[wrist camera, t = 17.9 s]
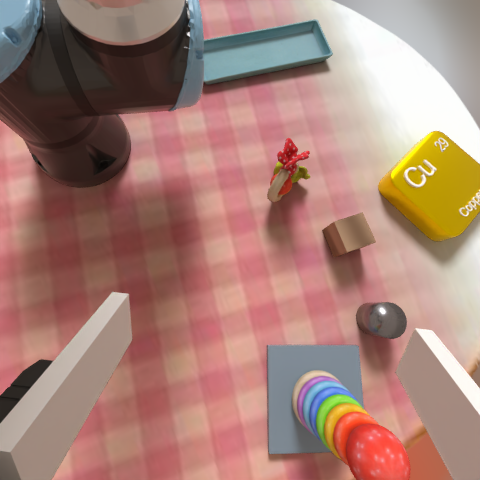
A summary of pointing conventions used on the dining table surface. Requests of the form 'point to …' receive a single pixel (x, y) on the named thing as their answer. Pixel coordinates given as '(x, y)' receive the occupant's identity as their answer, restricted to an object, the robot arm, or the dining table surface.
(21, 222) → the dining table surface
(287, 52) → the rectangular tray
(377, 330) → the graphite cylinder
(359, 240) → the walnut cube
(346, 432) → the stacking toy
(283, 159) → the bird rattle
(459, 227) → the element tile
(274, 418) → the pad
